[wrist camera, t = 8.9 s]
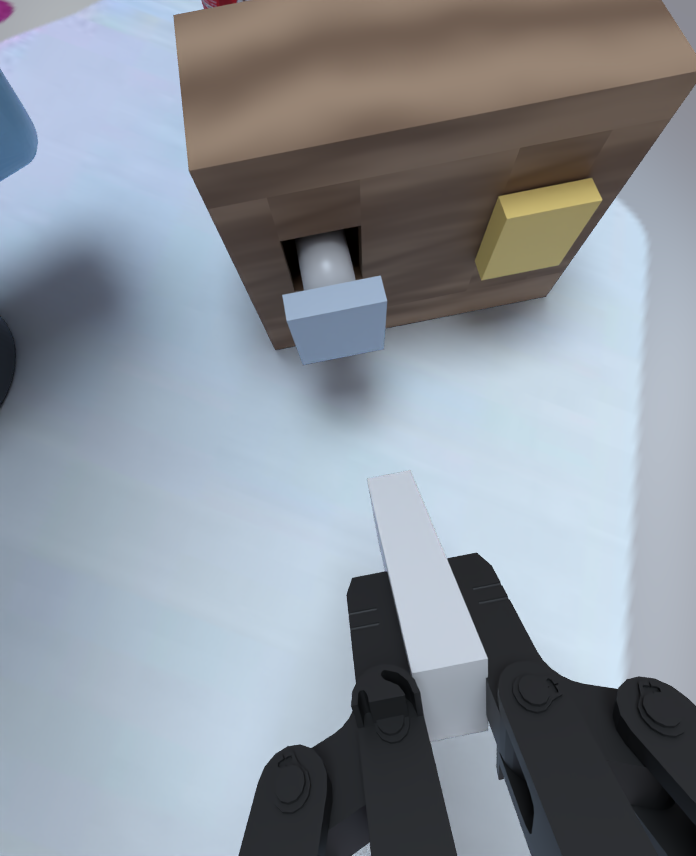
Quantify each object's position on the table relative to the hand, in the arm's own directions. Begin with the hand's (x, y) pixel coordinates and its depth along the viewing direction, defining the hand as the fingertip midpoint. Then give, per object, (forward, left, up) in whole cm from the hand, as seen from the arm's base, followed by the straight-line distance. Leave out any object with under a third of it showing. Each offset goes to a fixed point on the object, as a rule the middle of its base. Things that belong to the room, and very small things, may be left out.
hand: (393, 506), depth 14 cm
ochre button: (+20, +4, -8) cm, 22 cm away
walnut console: (+18, +10, -14) cm, 25 cm away
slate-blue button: (+9, +10, -8) cm, 16 cm away
